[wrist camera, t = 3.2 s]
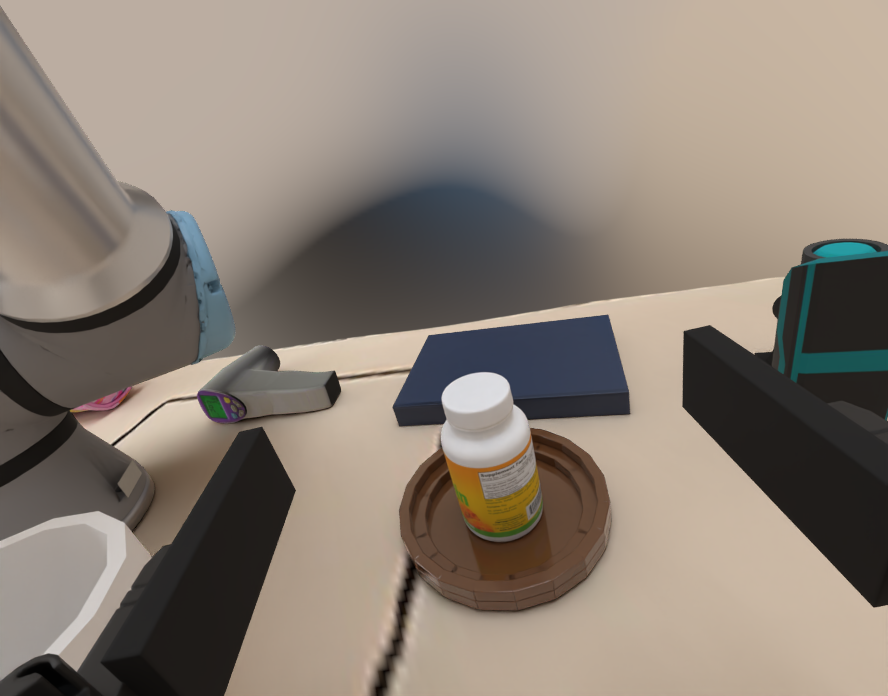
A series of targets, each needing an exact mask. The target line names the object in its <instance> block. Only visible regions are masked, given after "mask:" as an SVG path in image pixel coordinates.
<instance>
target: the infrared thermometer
mask: <svg viewBox="0 0 888 696" xmlns="http://www.w3.org/2000/svg"><path fill="white" fill-rule="evenodd" d="M279 367H280V360H279V357H278V356H277V354H276V353H275V352H274V351H273V350H272V349H270V348H269V347H266V346H261V345H260V346H256V347H254V348H253V349H251V350H250V351H249V352H247V353H245V354H244V355H243V356H241V357H240V358H238V359H237V360H235V361H234V362H232V363H231V364H229V365H228V366H226V367H225V368H223V369H222V370H221V371H220V372H219V373H218V374H217V375H215V376H214V377H213V378H212V379H211V380H210V381H209V382H208V383H207V384H206V385H205V386H204V387H203V388H202V389H200V390H199V391H198V394H197V398H198V401H199V404H200V406H201V408H202V409H203V411H204V413H205V414H206V415H207V416H208V418H209V419H211V420H212V421H215V422H218V423H234V422H237V421H240V420H241V419H245V418H252V417H260V416H265V415H270V414H287V413H301V412H309V411H316V410H321V409H325V408H329V407H331V406H333V405H334V403H335V401H336V399H337V398H338V396H339V394H340V392H341V387H340V384H339V381H338V378H337V375H336V372H335V371H328V372H304V371H280V372H278V369H279Z"/></svg>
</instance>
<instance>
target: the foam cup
mask: <svg viewBox="0 0 888 696" xmlns="http://www.w3.org/2000/svg"><path fill="white" fill-rule="evenodd" d="M151 558H152V556H151V555H150V554H149V552H148V551H147V550H146V549H145V548H144V546H143V545H142V544H141V543H140V541H139V540H138V539H137V538H136V536H135V535H134V534H133V533H132V531H131V530H130V529H129V528H128V526H127V525H126V524H125V523H124V522H122V521H119V520H117V519H115V518H113V517H110V516H108V515H106V514H104V513H102V512H99V511H95V512H89V513H83V514H77V515H71V516H65V517H59V518H53V519H51V520H49V521H46V522H44V523H41V524H39V525H37V526H34V527H32V528H30V529H27V530H25V531H23V532H20V533H18V534H16V535H13V536H11V537H8V538H6V539H4V540H1V541H0V681H1V680H2V679H3V678H5V677H6V676H7V675H8V674H10V673H11V672H12V671H13V670H15V669H16V668H17V667H19V666H21V665H22V664H24V663H26V662H27V661H29V660H31V659H33V658H34V657H38V656H41V655H44V654H48V653H50V654H55V655H58V656H60V657H61V658H62V659H63V660H64V661H65V662H66V663H67V664H68V665H70V666H71V667H72V668H73V669H74V670H75V671H76V672H77V671H78V669H79V667H80V666H81V664H82V663H83V661H84V660H85V658H86V656H87V655H88V653H89V652H90V650H91V649H92V647H93V645H94V644H95V642H96V641H97V639H98V638H99V636H100V634H101V633H102V631H103V630H104V628H105V627H106V625H107V624H108V622H109V620H110V619H111V617H112V616H113V614H114V613H115V611H116V609H118V608H120V603H121V602H122V600H123V598H124V597H125V595H126V594H127V592H128V591H130V590H131V586H132V584H133V583H134V581H135V580H136V578H137V576H138V575H139V573H140V572H141V570H142V569H143V567H144V566H145V565H146V563H147V562H148V561H149V560H150V559H151Z"/></svg>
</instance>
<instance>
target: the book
mask: <svg viewBox="0 0 888 696" xmlns="http://www.w3.org/2000/svg"><path fill="white" fill-rule="evenodd" d="M480 372H489V373H495V374H498V375H501V376H502V377H504V378H505V379H506V380H507V381H508V383H509V385H510V389H511V394H512V397H513V404H514V405H515V406H517V407H518V408H519V409H521V410H522V412H523V413H524V414H525V416H526V418H527V419H543V418H562V417H581V416H600V415H619V414H630V405H629V390H628V386H627V382H626V379H625V375H624V371H623V368H622V364H621V360H620V356H619V353H618V349H617V345H616V341H615V338H614V334H613V330H612V327H611V323H610V319H609V315H601V316H593V317H584V318H575V319H566V320H558V321H549V322H540V323H532V324H523V325H514V326H506V327H497V328H488V329H479V330H471V331H462V332H453V333H445V334H436V335H429V336H428V338H427V340H426V342H425V344H424V346H423V348H422V350H421V352H420V354H419V356H418V358H417V360H416V362H415V364H414V365H413V367H412V369H411V371H410V373H409V375H408V377H407V379H406V381H405V383H404V385H403V387H402V389H401V391H400V393H399V395H398V397H397V399H396V401H395V403H394V405H393V410H394V412H395V415H396V418H397V421H398V424H399V426H409V425H428V424H444V423H445V421H446V420H447V419H446V415H445V412H444V408H443V404H442V394H443V392H444V390H445V388H446V387H447V386H448V385H449V384H451V383H452V382H453V381H455V380H456V379H458V378H460V377H463V376H466V375H469V374H473V373H480Z"/></svg>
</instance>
